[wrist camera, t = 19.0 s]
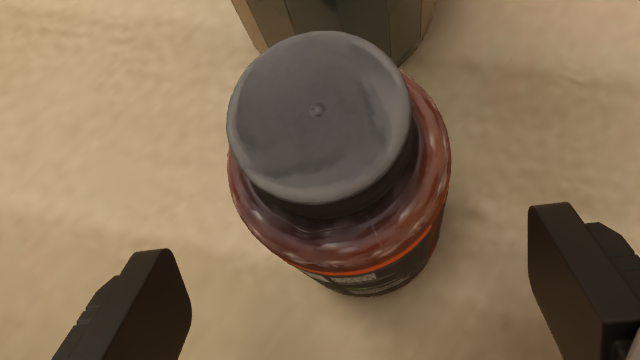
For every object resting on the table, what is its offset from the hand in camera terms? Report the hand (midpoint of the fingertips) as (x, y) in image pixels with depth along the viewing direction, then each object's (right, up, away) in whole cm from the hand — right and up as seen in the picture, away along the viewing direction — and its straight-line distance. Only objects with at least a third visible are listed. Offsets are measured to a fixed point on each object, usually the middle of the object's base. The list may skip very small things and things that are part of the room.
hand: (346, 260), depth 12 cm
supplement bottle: (+1, 0, +10) cm, 10 cm away
